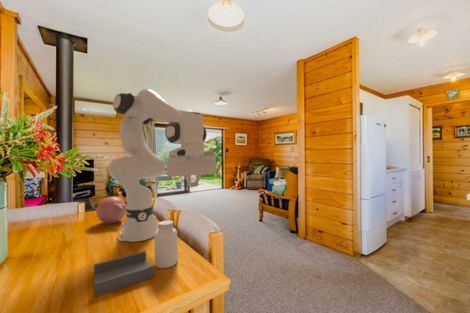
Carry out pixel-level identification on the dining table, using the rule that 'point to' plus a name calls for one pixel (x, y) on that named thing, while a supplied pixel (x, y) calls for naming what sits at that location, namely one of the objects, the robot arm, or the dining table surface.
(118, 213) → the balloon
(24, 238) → the dining table surface
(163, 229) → the pill bottle
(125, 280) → the u rest
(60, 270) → the dining table surface
